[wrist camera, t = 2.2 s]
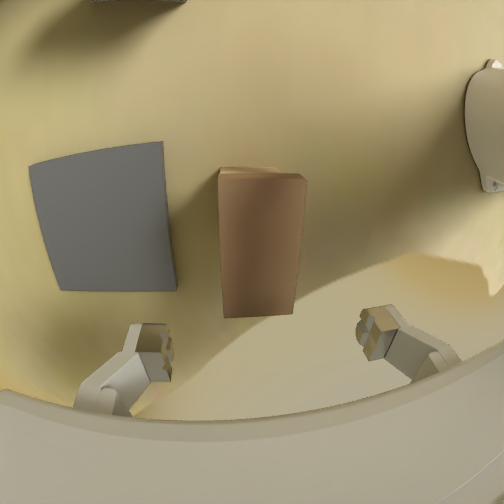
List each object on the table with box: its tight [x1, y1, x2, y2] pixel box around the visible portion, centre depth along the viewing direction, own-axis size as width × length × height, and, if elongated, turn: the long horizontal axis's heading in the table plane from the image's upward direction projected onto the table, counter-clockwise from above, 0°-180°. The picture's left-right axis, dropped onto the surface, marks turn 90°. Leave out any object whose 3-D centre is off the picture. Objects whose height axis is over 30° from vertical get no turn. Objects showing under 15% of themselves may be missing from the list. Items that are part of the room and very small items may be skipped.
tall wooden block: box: [218, 167, 307, 318], centre depth 20 cm, size 5×9×9 cm, turn 179°
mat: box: [29, 141, 178, 292], centre depth 22 cm, size 14×14×1 cm
